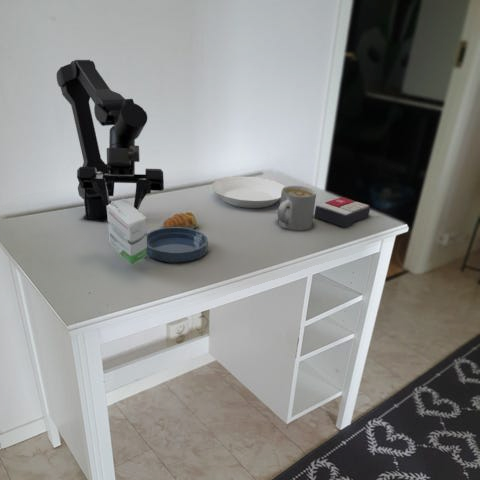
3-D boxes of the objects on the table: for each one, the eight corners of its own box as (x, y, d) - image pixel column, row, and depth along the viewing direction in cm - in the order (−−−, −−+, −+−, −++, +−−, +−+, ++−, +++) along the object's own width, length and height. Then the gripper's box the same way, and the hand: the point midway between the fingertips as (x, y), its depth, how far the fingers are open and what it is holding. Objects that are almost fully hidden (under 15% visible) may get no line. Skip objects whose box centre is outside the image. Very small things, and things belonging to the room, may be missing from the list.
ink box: (148, 255, 115) (148, 217, 106) (131, 265, 113) (130, 227, 104) (125, 235, 118) (123, 196, 109) (108, 243, 116) (105, 204, 106)
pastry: (171, 235, 134) (170, 221, 132) (158, 227, 138) (157, 214, 136) (199, 228, 139) (199, 215, 137) (186, 220, 144) (186, 208, 142)
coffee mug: (295, 215, 152) (299, 183, 147) (318, 226, 146) (323, 193, 140) (262, 223, 145) (265, 190, 139) (285, 235, 138) (289, 201, 133)
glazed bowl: (134, 259, 120) (133, 247, 119) (156, 234, 134) (155, 223, 132) (198, 267, 118) (198, 256, 117) (213, 241, 132) (214, 231, 130)
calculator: (371, 204, 153) (346, 213, 143) (368, 218, 155) (343, 227, 145) (341, 195, 159) (315, 203, 149) (338, 208, 161) (313, 217, 151)
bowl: (277, 216, 150) (278, 205, 148) (200, 204, 155) (200, 193, 153) (292, 192, 171) (294, 182, 169) (224, 182, 176) (224, 172, 174)
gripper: (72, 128, 103) (70, 197, 100) (162, 131, 106) (162, 199, 103) (82, 156, 114) (81, 219, 111) (163, 158, 117) (164, 220, 114)
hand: (121, 214), depth 109 cm, fingers closed on ink box, 5 cm apart
